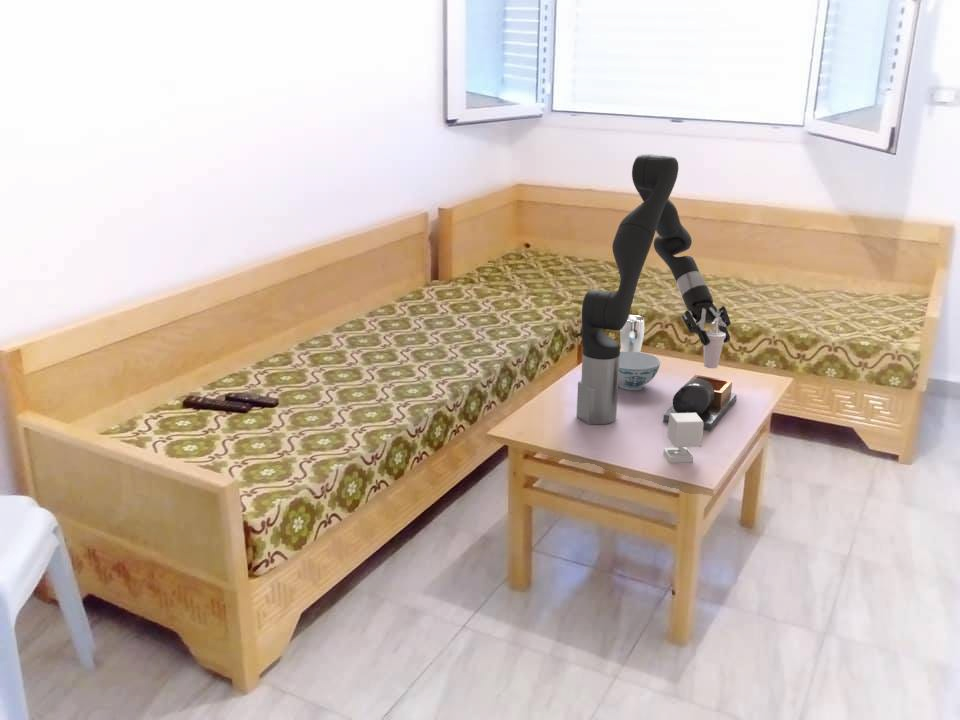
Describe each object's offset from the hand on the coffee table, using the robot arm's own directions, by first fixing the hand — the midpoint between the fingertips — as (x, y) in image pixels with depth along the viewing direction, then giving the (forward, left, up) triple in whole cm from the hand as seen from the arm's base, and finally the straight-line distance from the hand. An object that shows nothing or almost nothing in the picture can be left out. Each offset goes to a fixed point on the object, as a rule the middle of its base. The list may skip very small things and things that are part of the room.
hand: (717, 342), depth 248 cm
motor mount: (-15, -13, -13) cm, 24 cm away
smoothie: (0, +2, -8) cm, 8 cm away
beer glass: (-12, +24, -13) cm, 29 cm away
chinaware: (-21, +10, -13) cm, 26 cm away
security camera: (-37, -34, -13) cm, 52 cm away
